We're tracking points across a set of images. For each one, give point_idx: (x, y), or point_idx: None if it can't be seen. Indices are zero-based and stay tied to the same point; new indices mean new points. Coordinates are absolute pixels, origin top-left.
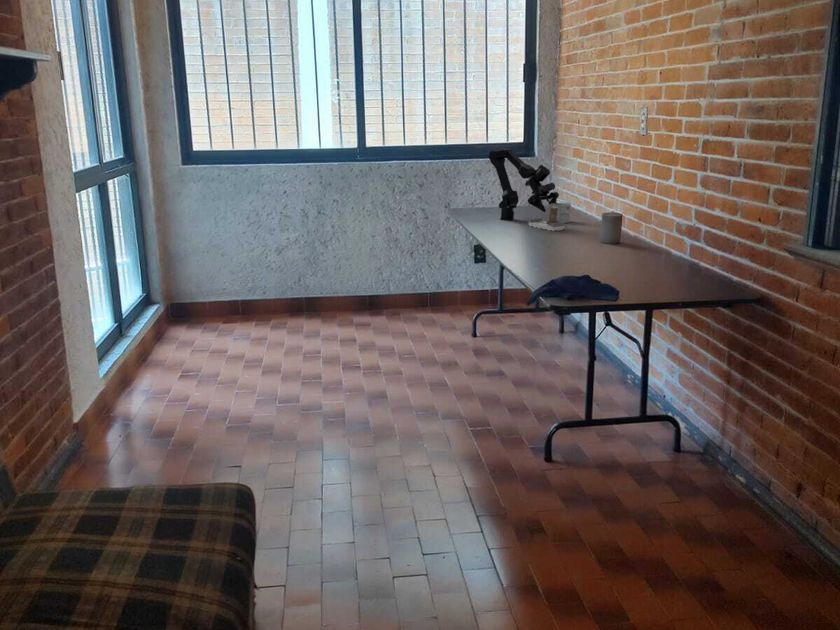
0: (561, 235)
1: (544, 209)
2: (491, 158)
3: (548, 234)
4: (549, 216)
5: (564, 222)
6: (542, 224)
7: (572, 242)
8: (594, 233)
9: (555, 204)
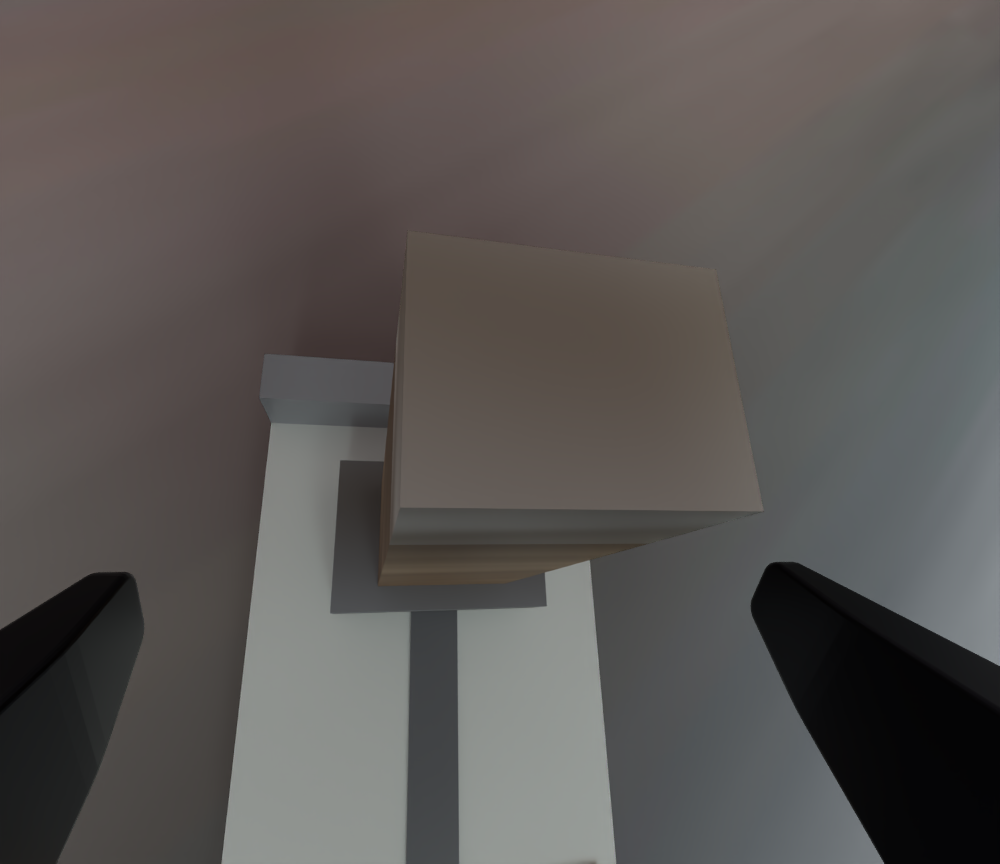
0: (650, 210)
1: (853, 595)
2: None
3: (747, 322)
4: (534, 574)
5: (286, 356)
6: (561, 690)
7: (763, 24)
8: (186, 34)
9: (603, 259)
